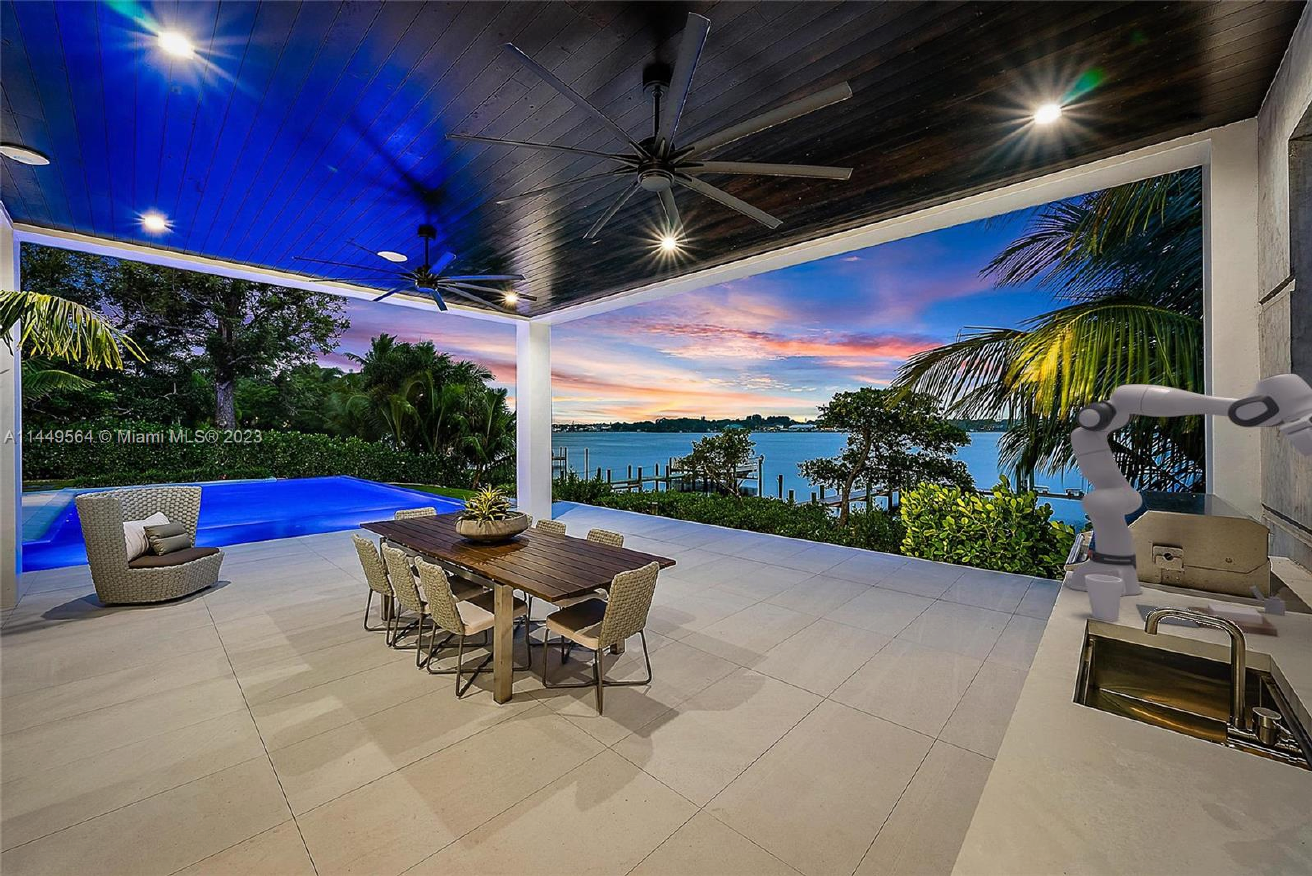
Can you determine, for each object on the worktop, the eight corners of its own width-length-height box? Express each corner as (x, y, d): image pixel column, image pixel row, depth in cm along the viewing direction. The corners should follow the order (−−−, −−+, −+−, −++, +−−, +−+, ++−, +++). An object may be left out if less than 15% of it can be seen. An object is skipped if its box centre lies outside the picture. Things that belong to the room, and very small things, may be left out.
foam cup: (1113, 624, 165) (1111, 583, 165) (1080, 616, 173) (1078, 577, 173) (1131, 619, 168) (1128, 579, 168) (1097, 611, 177) (1095, 573, 177)
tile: (1213, 618, 160) (1213, 610, 160) (1208, 611, 166) (1207, 604, 166) (1262, 624, 154) (1261, 615, 154) (1254, 616, 160) (1254, 608, 160)
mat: (1144, 621, 166) (1144, 620, 166) (1136, 605, 180) (1136, 604, 180) (1198, 628, 158) (1198, 626, 158) (1185, 610, 173) (1185, 609, 173)
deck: (1198, 626, 159) (1198, 620, 159) (1188, 612, 171) (1187, 606, 171) (1277, 636, 150) (1277, 629, 150) (1260, 620, 162) (1260, 614, 162)
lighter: (1285, 614, 165) (1283, 589, 166) (1285, 615, 164) (1283, 590, 164) (1251, 609, 171) (1250, 585, 171) (1251, 610, 170) (1249, 586, 170)
